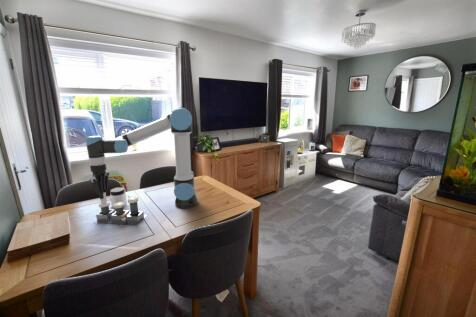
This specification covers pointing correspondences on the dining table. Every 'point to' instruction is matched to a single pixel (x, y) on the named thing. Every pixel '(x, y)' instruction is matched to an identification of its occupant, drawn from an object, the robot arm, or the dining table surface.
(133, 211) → the knob
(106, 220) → the console
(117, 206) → the knob mid
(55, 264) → the dining table surface
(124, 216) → the trim pot
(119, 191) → the jar
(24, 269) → the dining table surface
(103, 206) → the knob
